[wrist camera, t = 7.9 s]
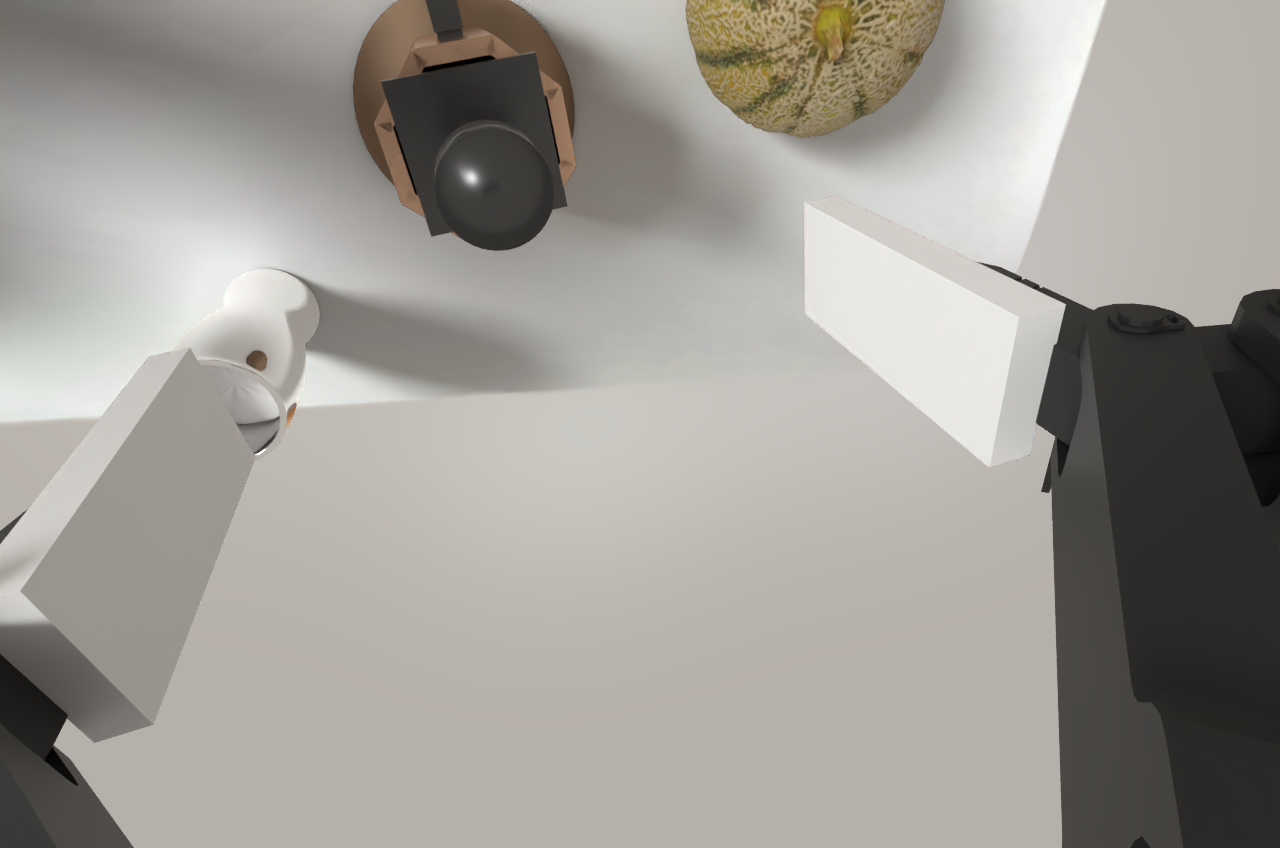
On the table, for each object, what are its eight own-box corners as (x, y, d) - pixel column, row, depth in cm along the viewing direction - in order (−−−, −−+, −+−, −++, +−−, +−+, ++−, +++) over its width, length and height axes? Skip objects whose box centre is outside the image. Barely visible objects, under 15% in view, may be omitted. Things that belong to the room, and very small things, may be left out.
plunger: (438, 174, 43) (441, 285, 26) (406, 72, 40) (387, 124, 23) (528, 155, 44) (587, 251, 27) (504, 53, 41) (556, 90, 24)
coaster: (399, 237, 47) (399, 239, 47) (316, 6, 39) (315, 6, 39) (590, 194, 49) (591, 196, 48) (547, -34, 41) (549, -35, 41)
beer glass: (334, 350, 50) (303, 462, 38) (231, 356, 48) (163, 475, 36) (316, 260, 46) (274, 351, 34) (204, 262, 45) (118, 360, 32)
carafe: (422, 197, 46) (418, 259, 35) (354, -9, 39) (323, -14, 28) (552, 169, 47) (589, 220, 36) (509, -36, 40) (538, -50, 29)
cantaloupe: (899, -46, 46) (1070, -64, 34) (783, 156, 51) (893, 204, 39) (732, -199, 39) (868, -291, 27) (618, 51, 45) (689, 70, 32)
